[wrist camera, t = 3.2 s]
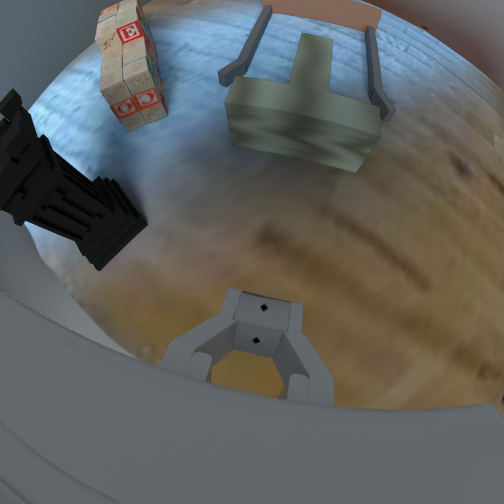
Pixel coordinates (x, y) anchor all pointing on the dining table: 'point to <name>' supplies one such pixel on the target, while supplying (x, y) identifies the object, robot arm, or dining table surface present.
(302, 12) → the bay
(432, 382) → the dining table surface
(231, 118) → the T block
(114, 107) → the stack of blocks
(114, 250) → the chess piece
